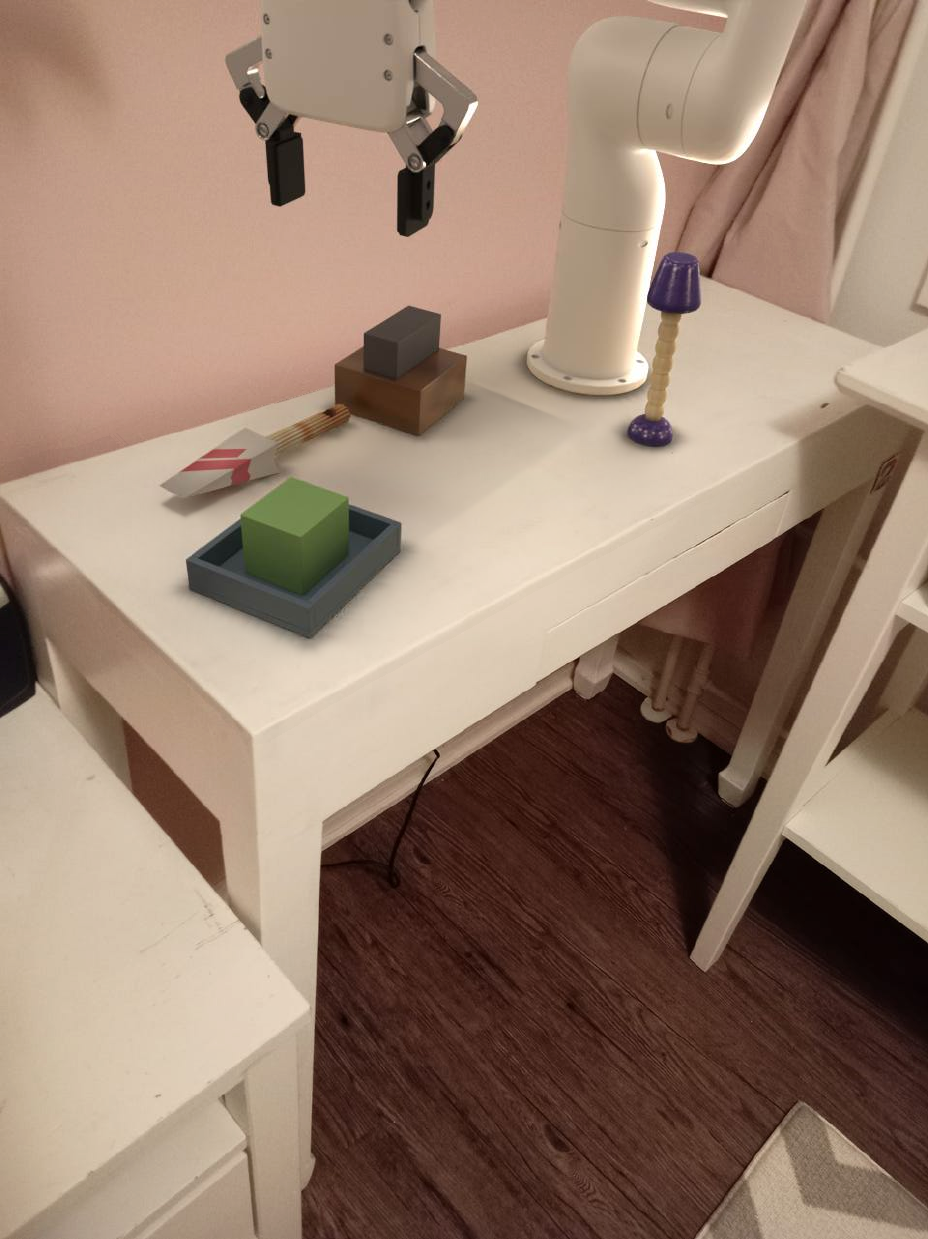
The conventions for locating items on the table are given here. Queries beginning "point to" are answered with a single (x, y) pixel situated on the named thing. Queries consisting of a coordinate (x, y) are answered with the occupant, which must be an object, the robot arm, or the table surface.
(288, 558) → the green block
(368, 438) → the table surface
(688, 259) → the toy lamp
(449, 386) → the walnut block
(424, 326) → the charcoal block
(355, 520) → the tray
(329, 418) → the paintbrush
